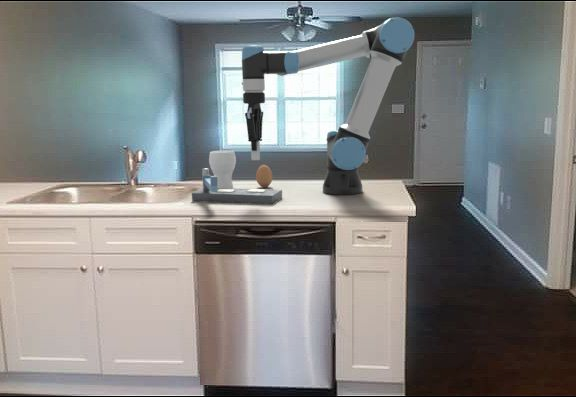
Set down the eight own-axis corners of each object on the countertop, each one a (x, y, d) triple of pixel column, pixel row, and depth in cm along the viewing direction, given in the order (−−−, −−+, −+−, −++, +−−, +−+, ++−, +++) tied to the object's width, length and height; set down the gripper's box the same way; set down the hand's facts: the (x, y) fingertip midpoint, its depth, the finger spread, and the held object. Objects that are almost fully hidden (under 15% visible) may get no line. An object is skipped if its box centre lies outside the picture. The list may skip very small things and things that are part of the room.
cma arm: (219, 194, 184) (218, 176, 183) (210, 195, 184) (209, 177, 183) (210, 185, 203) (210, 169, 202) (203, 186, 202) (202, 169, 201)
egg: (275, 186, 230) (275, 164, 228) (266, 189, 224) (266, 166, 223) (262, 185, 233) (261, 163, 232) (253, 187, 228) (252, 165, 226)
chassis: (282, 198, 204) (281, 167, 202) (272, 204, 193) (271, 172, 191) (205, 195, 212) (204, 166, 210) (192, 201, 201) (190, 170, 199)
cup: (232, 191, 220) (231, 153, 217) (206, 191, 222) (204, 153, 219) (240, 187, 230) (238, 150, 228) (215, 186, 232) (213, 150, 230)
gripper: (249, 92, 202) (251, 157, 206) (236, 92, 190) (239, 161, 194) (269, 91, 200) (271, 157, 204) (258, 91, 187) (259, 162, 192)
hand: (255, 159), depth 199 cm, fingers closed
